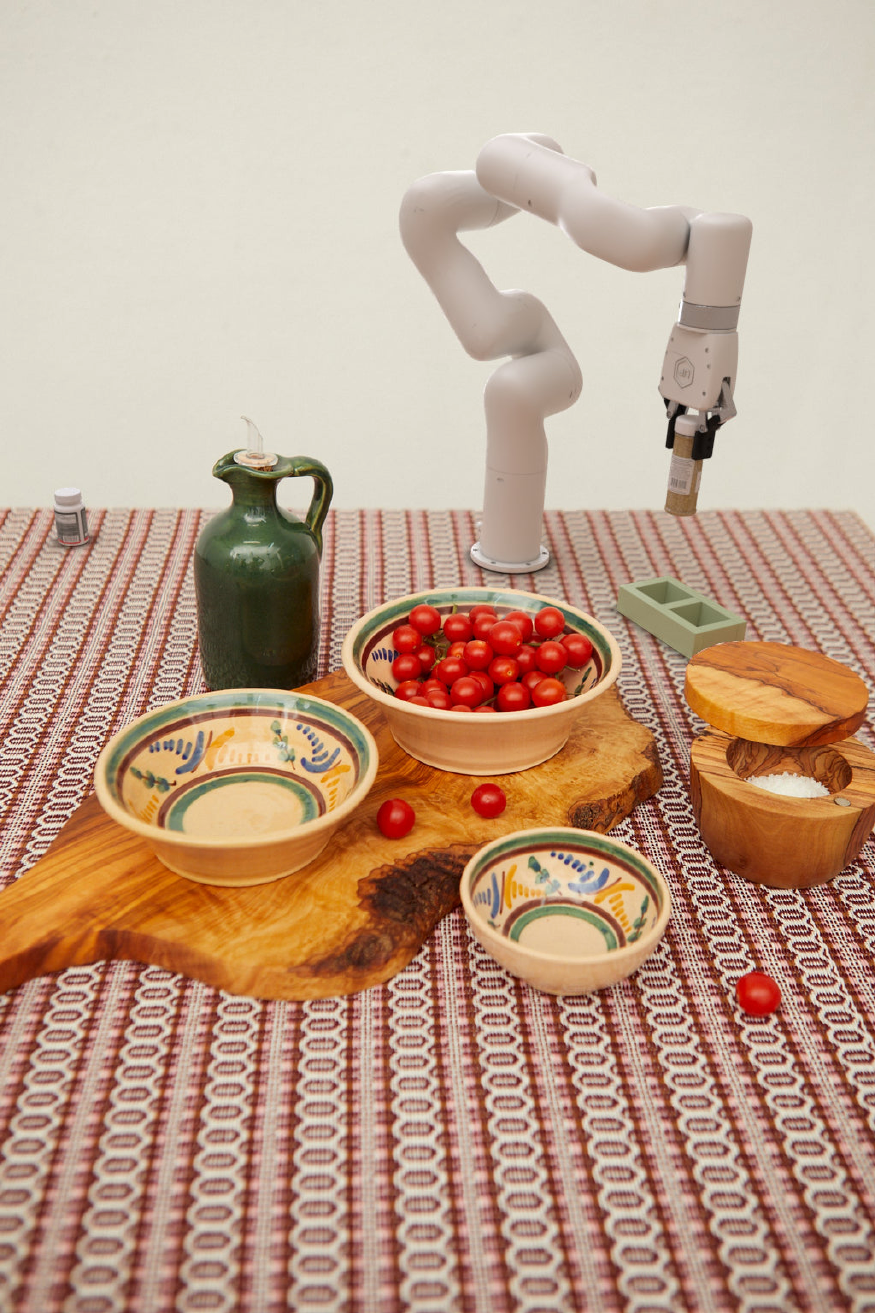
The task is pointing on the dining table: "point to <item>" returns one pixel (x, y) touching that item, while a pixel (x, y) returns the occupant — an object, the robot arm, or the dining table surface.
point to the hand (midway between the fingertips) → (688, 451)
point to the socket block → (679, 615)
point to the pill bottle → (70, 517)
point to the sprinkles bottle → (684, 469)
